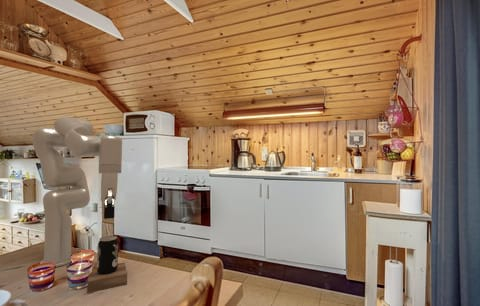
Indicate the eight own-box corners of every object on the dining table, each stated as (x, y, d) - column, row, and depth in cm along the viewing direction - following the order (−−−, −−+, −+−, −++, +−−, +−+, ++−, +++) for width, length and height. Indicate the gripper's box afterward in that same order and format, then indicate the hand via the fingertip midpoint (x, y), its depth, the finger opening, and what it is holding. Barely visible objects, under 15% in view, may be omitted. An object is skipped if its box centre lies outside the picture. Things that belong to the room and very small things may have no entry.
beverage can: (108, 276, 86) (109, 241, 86) (92, 274, 87) (93, 240, 88) (121, 268, 92) (122, 236, 93) (106, 266, 94) (107, 234, 94)
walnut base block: (89, 278, 92) (89, 268, 92) (124, 271, 98) (124, 262, 98) (87, 292, 81) (87, 282, 81) (126, 284, 87) (127, 274, 87)
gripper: (99, 168, 97) (97, 212, 96) (98, 170, 82) (96, 221, 81) (120, 168, 101) (119, 210, 100) (122, 169, 85) (121, 219, 85)
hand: (108, 215), depth 91 cm, fingers open, 9 cm apart
